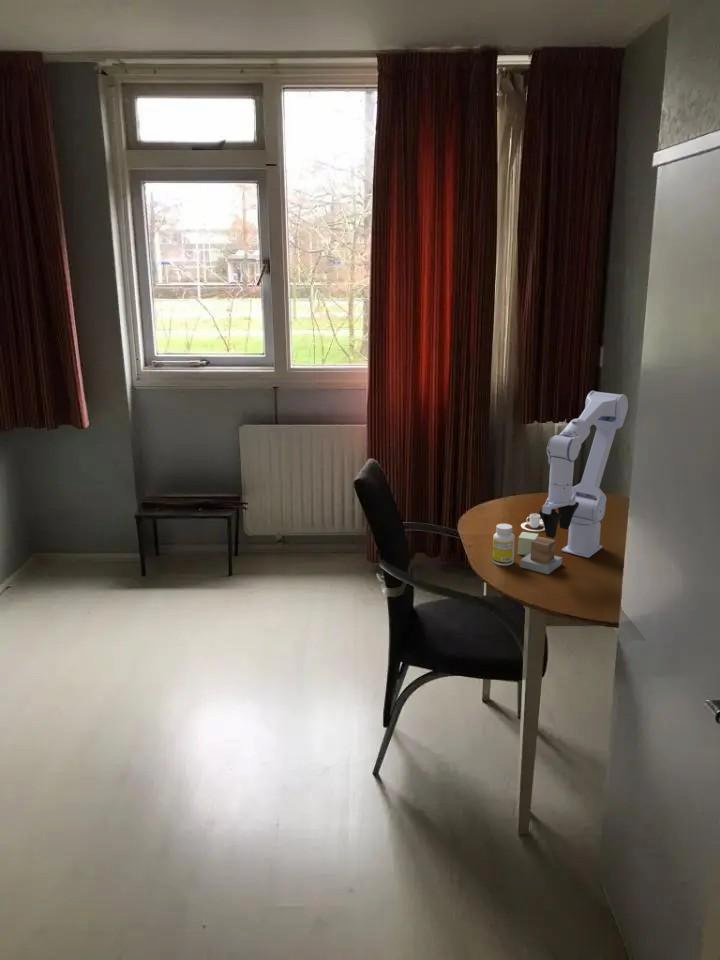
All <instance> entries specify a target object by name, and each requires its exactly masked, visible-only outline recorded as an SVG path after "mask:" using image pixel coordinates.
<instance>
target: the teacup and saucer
mask: <svg viewBox="0 0 720 960" xmlns="http://www.w3.org/2000/svg"><path fill="white" fill-rule="evenodd" d="M528 519H529V521H528ZM526 525H528V526H530V528H532V529H530V528H527V527H526ZM520 527H521V529H523V530H525V531H528V532H543V531H545V527H544V523H543V521H542V518H541V516H540V515H539V513H530V514H529V516H527V517H526V520H525V522H522V523H521V524H520ZM538 527H543V528H542V529H538Z"/></svg>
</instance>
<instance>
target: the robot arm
mask: <svg viewBox="0 0 720 960" xmlns="http://www.w3.org/2000/svg"><path fill="white" fill-rule="evenodd" d="M584 403H585V405H584V406H585V407H584V409H583V411H582V412H581V414H580V415H579V417H578V418H573V419H572V420H570V422H569V423H568V424H567V425H566V426H565V427H564V429H563V430H562V431H561V432H560V433H559V434H556V435H553V436H551V437H550V438H549V440H548V443H547V447H546V455H547V457H548V460H547V462H548V465H549V468H550V469H549V479H548V481H549V483H548V497H547V498H546V500H545V503H544V504H543V505H542V508H540V509H539V510H538V514H539V515H540V519H542V521H543V523H544V527H545V530H544V531H545V536H546V538H549V539H555V537H556V535H557V530H558V525H559V528H560V529H563V530H567V531H568V536H567V545H566V546H564V547H563V548H561V552H563V553H568V554H573V555H576V556H579V557H584V558H588V559H589V558H590V557H592V556H593V555H594V554H596V553H597V552H598V551H600V550H601V549H602V548H603V545H600V539H601V530H602V529H601V528H602V526H601V521H602V520H603V518H604V516H605V514H606V504H607V496H606V494H605V493H604V492H603V491H602V489H601V488H600V485H601V482H602V479H603V476H604V472H605V469H606V465H607V462H608V459H609V454H610V451H611V448H612V444H613V441H614V439H615V435H616V431H617V430H618V429H621V428H622V427H623V425H624V423H625V419H626V418H627V417H626V416H627V412H628V409H629V400H628V397H627V396H626V394H625V393H624V394H623V393H621V394H619V393H610V392H601V391H596V390H591V391H589V392H588V394H587V396H586V398H585V402H584ZM592 425H593V426H595V427H596V430H595V433H594V437H593V441H592V444H591V447H590V451H589V455H588V458H587V461H586V464H585V467H584V472H583V474H582V478H581V481H580V483H577V484H576V485H574V486H573V484H574V483H573V480H574V470H575V467H574V466H575V460H576V459H577V458H578V456H579V453H580V451H581V448H582V444H583V443H584V441H585V440H586V439H587V438H588V436H589V435H590V433H591V426H592ZM556 509H557V510H558V512H557V511H556ZM544 527H543V528H544Z"/></svg>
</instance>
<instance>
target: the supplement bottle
mask: <svg viewBox="0 0 720 960" xmlns="http://www.w3.org/2000/svg"><path fill="white" fill-rule="evenodd" d="M495 527H496V529H495V531H496V532H495V533H494V534H493V536H492V537H493V538H492V562H493V563H494V564H495V565H497V566H511V565H513V564H514V562H515V548H516V547H515V543H516V537H515V534H514V533H513V525H511V524H509V523H497V524H496V526H495Z"/></svg>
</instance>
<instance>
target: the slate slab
mask: <svg viewBox="0 0 720 960" xmlns="http://www.w3.org/2000/svg"><path fill="white" fill-rule="evenodd" d="M562 563H563V557H562V556H557V555H554V558H553V559H552V560H551V561H549V562H548V563H542V562H538V561H535V560H531V553H530V554H528V555H524V557H522V558H521V559H520V560H519V568H523V569H527V570H531V571H534V572H537V573H542V574H544V575H549V574H551V573H552V572H554V570H556V569H558V568H559V567H560V566H561V565H562Z"/></svg>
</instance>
